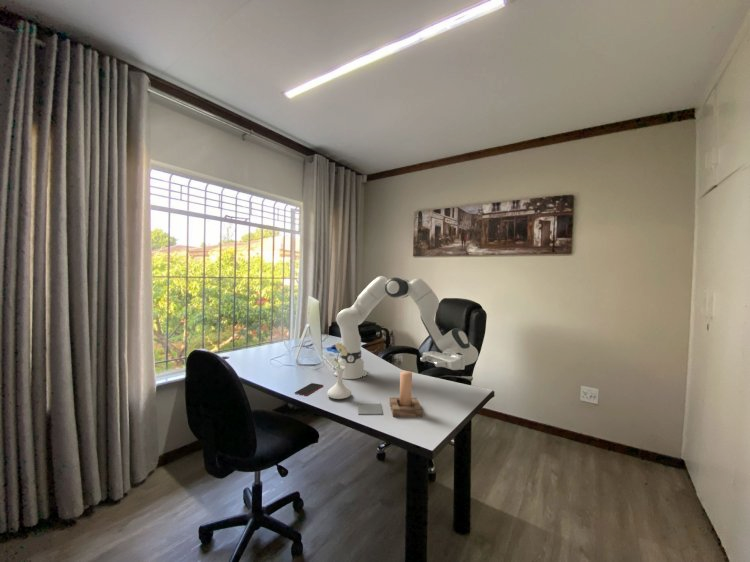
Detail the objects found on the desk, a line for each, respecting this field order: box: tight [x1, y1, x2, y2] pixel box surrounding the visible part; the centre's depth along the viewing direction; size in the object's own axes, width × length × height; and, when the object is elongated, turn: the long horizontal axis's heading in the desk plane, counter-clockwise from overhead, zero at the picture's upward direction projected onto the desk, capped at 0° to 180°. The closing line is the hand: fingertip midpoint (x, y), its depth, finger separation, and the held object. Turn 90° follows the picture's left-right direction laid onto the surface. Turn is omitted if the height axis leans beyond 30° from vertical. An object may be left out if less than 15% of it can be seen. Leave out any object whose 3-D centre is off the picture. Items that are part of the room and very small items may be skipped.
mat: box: [357, 403, 384, 416], centre depth 128 cm, size 10×10×1 cm
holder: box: [389, 397, 423, 418], centre depth 128 cm, size 12×12×3 cm
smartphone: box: [294, 382, 324, 397], centre depth 149 cm, size 7×1×15 cm
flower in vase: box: [326, 341, 352, 400], centre depth 142 cm, size 13×11×25 cm
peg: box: [399, 370, 413, 407], centre depth 128 cm, size 5×5×16 cm
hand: (428, 362), depth 134 cm, fingers open, 8 cm apart
